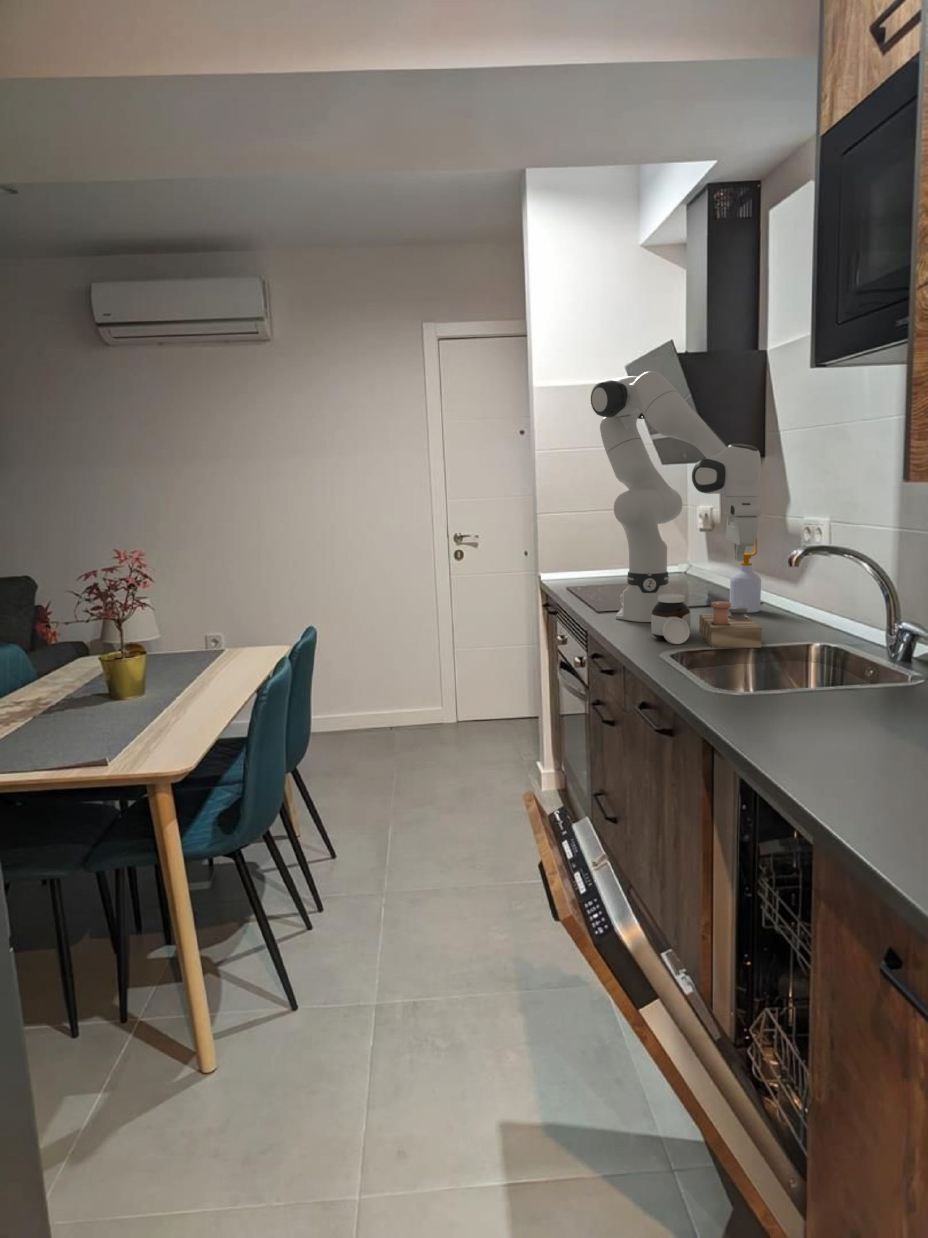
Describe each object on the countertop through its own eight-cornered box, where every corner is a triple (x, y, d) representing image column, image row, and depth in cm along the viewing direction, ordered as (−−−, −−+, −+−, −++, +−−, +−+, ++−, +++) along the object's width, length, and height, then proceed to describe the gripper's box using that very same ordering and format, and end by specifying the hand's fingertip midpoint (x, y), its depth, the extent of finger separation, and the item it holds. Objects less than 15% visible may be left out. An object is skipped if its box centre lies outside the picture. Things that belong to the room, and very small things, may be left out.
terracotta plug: (709, 627, 219) (709, 601, 218) (728, 627, 219) (728, 601, 217) (712, 631, 215) (713, 604, 213) (731, 631, 214) (732, 604, 213)
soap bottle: (728, 608, 268) (731, 530, 264) (759, 608, 266) (761, 530, 261) (729, 612, 260) (732, 532, 255) (761, 613, 257) (764, 532, 253)
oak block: (699, 632, 232) (699, 614, 231) (744, 631, 230) (744, 613, 229) (711, 647, 212) (712, 628, 211) (761, 647, 211) (761, 627, 210)
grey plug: (726, 632, 228) (726, 606, 227) (744, 631, 227) (745, 606, 226) (729, 635, 223) (730, 609, 222) (748, 635, 223) (749, 609, 221)
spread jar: (672, 634, 230) (673, 592, 228) (705, 640, 221) (706, 596, 219) (641, 640, 223) (641, 596, 221) (673, 647, 214) (674, 601, 212)
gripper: (721, 505, 230) (719, 555, 232) (736, 509, 210) (734, 565, 212) (745, 504, 229) (742, 555, 232) (762, 509, 209) (759, 564, 212)
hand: (738, 560), depth 222 cm, fingers closed
